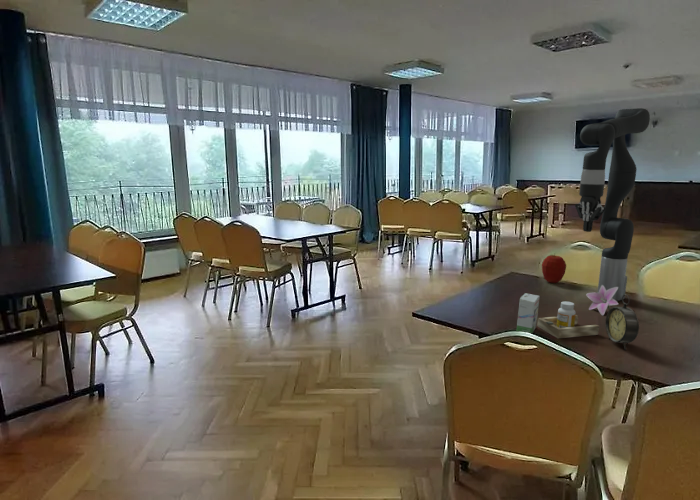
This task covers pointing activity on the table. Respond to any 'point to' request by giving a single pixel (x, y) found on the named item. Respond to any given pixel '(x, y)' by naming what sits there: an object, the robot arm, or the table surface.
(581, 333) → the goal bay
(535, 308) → the ink box
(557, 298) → the table surface
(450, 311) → the table surface
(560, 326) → the supplement bottle
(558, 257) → the apple
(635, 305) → the table surface
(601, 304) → the lily
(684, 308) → the table surface
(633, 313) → the alarm clock
